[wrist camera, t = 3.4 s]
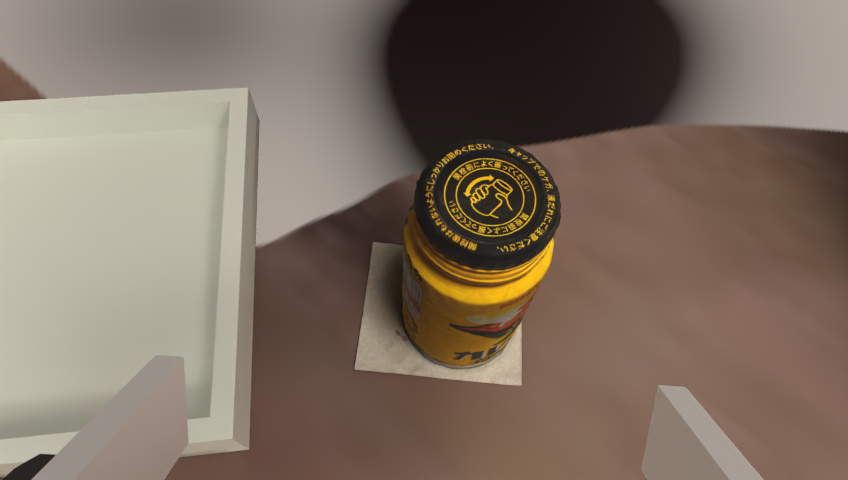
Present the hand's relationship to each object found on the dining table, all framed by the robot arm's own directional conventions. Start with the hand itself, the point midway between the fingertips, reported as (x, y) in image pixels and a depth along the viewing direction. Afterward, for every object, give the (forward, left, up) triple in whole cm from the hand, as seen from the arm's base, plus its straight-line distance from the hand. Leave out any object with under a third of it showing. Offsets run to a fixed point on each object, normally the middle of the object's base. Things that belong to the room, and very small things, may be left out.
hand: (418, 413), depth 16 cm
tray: (+17, -12, -12) cm, 24 cm away
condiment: (-3, -8, -13) cm, 15 cm away
